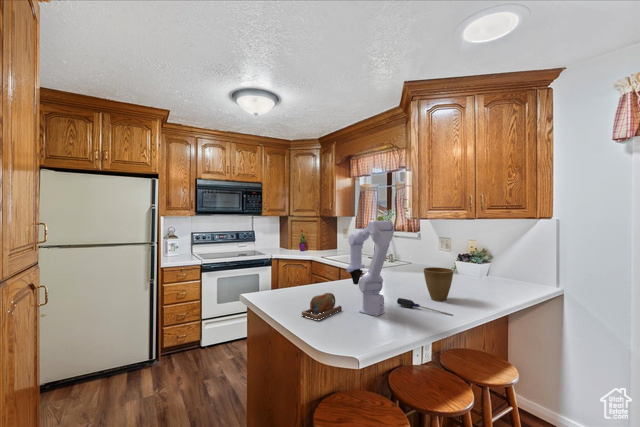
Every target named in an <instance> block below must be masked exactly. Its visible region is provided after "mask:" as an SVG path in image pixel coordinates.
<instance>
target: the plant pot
mask: <svg viewBox="0 0 640 427" xmlns="http://www.w3.org/2000/svg"><path fill="white" fill-rule="evenodd" d="M423 275H424V280H425V285H426V289H427V291H428V294H429V297H430V299H431V300H432V301H435V302H445V301H447V299H448V296H449V293H450V291H451V286H452V282H453V277H454V270H453V269H452V268H446V267H435V266H434V267H425V268H423Z"/></svg>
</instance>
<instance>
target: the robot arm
mask: <svg viewBox="0 0 640 427" xmlns="http://www.w3.org/2000/svg"><path fill="white" fill-rule="evenodd" d="M367 224H368V225H367V226H366V227H365V228H359V229H358V231H357V232H355V233H351V234H349V235H348V244H349V246H350V247H349V248H350V254H349V255H350V258H349V259H350V262H349V263H350V264H349V265H348V266H347V268H346V273H349V274H350V277H351V281H352V284H353V285H358V288H359V290H360V292H361V293H362V308H361V309H360V310H359V311H358V312H359V313H363V314H365V315H366V314H367V315H370V316H375V317H378V316H380V315H381V314H383V313H385V296H384V295H383V294H380V293H381V291H382V290H383V287H384V285H383V284H384V283H383V282H384V278H383V277H382V275H381V273H382V272H381V271H382V269H383V266H384V264H385V260H386V257H387V254H388V252H389V248H390V244H391V241H392V239H393V236H394V232H395V226H394V223H393V221H392V220H389V219H388V220H372V219H371V220H370V221H369V222H368V223H367ZM370 237H371V239H372V242H374V243H375V244H376V245H375V248H374V251H373V254H372V258H371V261H370V265H369V267H368V271H367V272H366V273H363V270H362V269H365V267H366V266H365V264H362V257H363V256H362V254H363V253H362V249H363V247H364V246H363V245H364V243H365V242H366V241H367V240H368V239H369V238H370ZM362 273H363V274H362Z"/></svg>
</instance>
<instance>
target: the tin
mask: <svg viewBox="0 0 640 427" xmlns="http://www.w3.org/2000/svg"><path fill="white" fill-rule="evenodd" d="M335 297H336V296H335V295H334V294H333V293H331V292H325V293H322V294H319V295H314V296H313V297H312V298H311V300H310V304H309V309H310V310H311V312H312V314H314V315H317V314H319V313H323V312H326V311H329V310H331V309H333V308H335V307H336V298H335Z"/></svg>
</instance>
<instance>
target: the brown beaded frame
mask: <svg viewBox="0 0 640 427" xmlns="http://www.w3.org/2000/svg"><path fill="white" fill-rule="evenodd" d="M342 307H343V306H341V305H339V306H335V307H334V308H333V309H331V310H329V311H326V312H324V313H321V314H319V315H316V314H313V313H312V314H311V310H310V308H308V309H306V310H303V311H301V316H302V315H303V316H307V317H310V318H313V319H317V320H318V319H321V318H323V317H326V316H328V315H330V314H332V315H334V314H333V313H335V312H337V311H339V312H341V311H342V310H343V308H342ZM340 310H341V311H340ZM337 313H338V312H337ZM335 314H336V313H335ZM330 316H331V315H330ZM328 317H329V316H328ZM326 318H327V317H326ZM323 319H324V318H323ZM321 320H322V319H321Z"/></svg>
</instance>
